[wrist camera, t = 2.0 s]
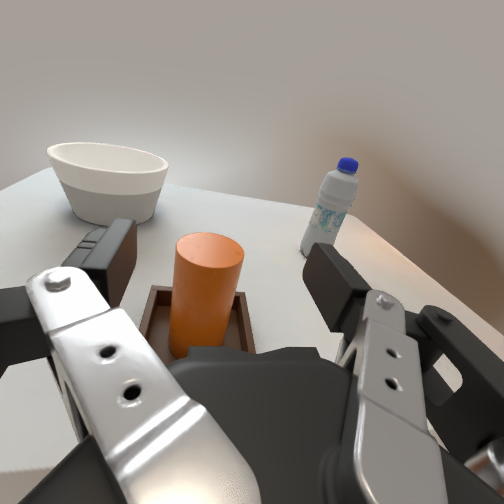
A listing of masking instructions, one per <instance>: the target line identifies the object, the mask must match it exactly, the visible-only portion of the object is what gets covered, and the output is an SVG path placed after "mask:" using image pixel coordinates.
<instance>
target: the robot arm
mask: <svg viewBox="0 0 504 504" xmlns="http://www.w3.org/2000/svg"><path fill="white" fill-rule="evenodd" d="M136 259H137V224H136V220H132V219H123V218H114V219H113V221H112V222H111V223H110V225H109V226H108V228H107V229H106V228H98V229H96V230H94V231H92V232H89V233H88V234H87V235H86V236H85V237H84V239H83V240H82V242H80V243H79V244H78V246H77V248H75V249H74V250H73V252H72V253H71V254H70V255H69V256H68V258H67V259H66V260H65V261H64V262H63V263H62V265H61V266H60V267H55V268H50V269H46V270H43V271H41V272H38V273H36V274H35V275H33V276H32V277H30V278H29V279H28V281H27V282H26V285H25V286H21V287H13V288H5V289H0V378H1V377H2V375H3V374H4V372H5V371H6V369H7V367H8V366H10V365H14V364H18V363H23V362H27V361H31V360H36V359H40V358H44V357H46V360H47V363H48V365H49V367H50V370H51V372H52V375H53V377H54V380H55V382H56V385H57V387H58V389H59V392H60V394H61V397H62V399H63V402H64V404H65V407H66V410H67V413H68V416H69V419H70V421H71V424H72V427H73V430H74V432H75V435H76V437H77V440H78V442H79V444H78V445H77V446H76V447H75V448H74V449H73V450H72V451H71V452H70V453H69V454H68V455H67V456H66V457H65V458H64V459H63V460H62V461H61V462H60V463H59V464H58V465H57V466H56V467H55V468H54V469H53V470H52V471H51V472H50V473H49V474H48V475H47V476H46V477H45V478H43V479H42V481H40V483H38V485H37V486H35V487H34V488H33V489H32V490H31V491H30V492H29V493H28V494H27V495H26V496H25V497H24V498H23V499H22V500H21V501H20V502H19V503H18V504H504V362H503V361H502V360H501V359H500V358H499V357H498V356H497V355H496V354H494V353H493V352H492V351H491V350H490V349H489V348H488V347H487V346H486V345H485V344H484V343H483V342H482V341H481V340H480V339H478V338H477V337H476V336H475V335H474V334H473V333H472V332H471V331H470V330H469V329H468V328H467V327H466V326H465V325H463V324H462V323H461V322H460V321H459V320H458V319H457V318H456V317H455V316H453V315H452V314H450V313H449V312H447V311H445V310H443V309H441V308H439V307H436V306H432V305H426V306H424V307H423V309H422V310H421V312H420V313H419V314H416V313H413V312H409V311H406V310H404V307H403V305H402V304H401V303H400V302H399V301H398V300H397V299H396V298H395V297H393V296H391V295H390V294H388V293H385V292H383V291H379V290H373V289H372V288H371V287H370V286H369V285H368V283H367V282H366V281H365V280H364V279H363V278H362V277H361V275H360V274H358V272H357V271H356V270H355V269H354V267H353V266H352V265H351V264H350V263H349V262H348V261H347V260H346V259H345V258H343V257H342V256H341V255H340V254H339V253H338V252H337V250H336V249H335V248H334V247H333V246H332V245H331V244H326V243H318V242H315V243H314V244H313V245H312V247H311V250H310V253H309V255H308V258H307V261H306V263H305V266H304V269H303V281H304V283H305V285H306V287H307V289H308V290H309V292H310V294H311V296H312V298H313V300H314V302H315V304H316V305H317V307H318V309H319V311H320V313H321V315H322V317H323V319H324V321H325V322H326V324H327V326H328V328H329V330H330V332H337V333H343V334H344V335H343V337H342V339H341V341H340V345H339V348H338V352H337V356H336V360H335V363H333V362H331V361H329V360H326V359H323V358H320V355H319V353H318V351H317V349H316V347H285V348H281V349H277V350H273V351H269V352H265V353H261V354H254V353H250V352H245V351H241V350H237V349H232V348H228V347H224V346H188V354H187V357H185V358H181V359H178V360H175V361H173V362H170V363H168V364H166V365H164V364H163V363H162V361H161V360H160V359H159V357H158V356H157V354H156V353H155V352H154V350H153V349H152V348H151V346H150V345H149V344H148V342H147V341H146V340H145V338H144V337H143V336H142V334H141V333H140V332H139V330H138V329H137V328H136V326H135V325H134V324H133V322H132V321H131V320H130V318H129V317H128V316H127V314H126V313H125V312H124V310H123V309H122V308H121V307H119V305H120V302H121V300H122V297H123V295H124V293H125V290H126V288H127V285H128V283H129V280H130V278H131V275H132V273H133V270H134V268H135V265H136ZM443 353H444V354H445V355H446V356H447V357H448V359H449V360H450V361H451V362H452V363H453V364H454V366H455V367H456V368H457V369H458V370H459V371H460V373H461V375H462V379H463V383H462V386H461V387H460V388H459V389H458V390H457V391H456V392H455V393H454V392H453V391H452V390H451V388H450V387H449V386H448V384H447V383H446V382H445V381H444V379H443V378H442V377H441V376H440V374H439V373H438V372H437V371H436V369H435V368H434V367H433V365H434V363H435V362H436V361H437V360H438V359H439V358H440V357H441V356H442V354H443ZM426 417H427V418H426ZM427 419H428V420H429V422H430V423H431V425H432V426H433V428H434V430H435V431H436V432H437V434H438V436H439V437H440V439H441V440H442V442H443V443H444V445H445V447H446V448H447V450H448V451H449V452H448V451H446V450H445V449H444V448H443V447H441V446H440V445H439V444H438V442H437V440H436V439H435V438H434V437H433V436H432V435H431V434H430V433H429V431H428V426H427Z"/></svg>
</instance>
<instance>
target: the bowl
mask: <svg viewBox="0 0 504 504" xmlns="http://www.w3.org/2000/svg"><path fill="white" fill-rule="evenodd" d="M47 155H48V158H49V160H50V162H51V164H52V166H53V169H54V171H55V173H56V175H57V177H58V179H59V181H60V183H61V185H62V187H63V190H64V192H65V194H66V196H67V198H68V200H69V202H70V205H71V207H72V209H73V211H74V213H75V214H76V216H77V217H79V218H80V219H82V220H84V221H86V222H90V223H93V224H98V225H104V226H109V225H110V223H111V222H112V221H113V219H114V218H123V219H132V220H136V224H140V223H143V222H146V221H147V220H149V219H150V218H151V217H152V216H153V213H154V210H155V207H156V204H157V201H158V198H159V195H160V192H161V189H162V186H163V183H164V180H165V176H166V174H167V170H168V167H169V165H168V163H167V161H165V160H164V159H162V158H161V157H159V156H156V155H154V154H151V153H148V152H145V151H142V150H138V149H134V148H129V147H124V146H118V145H111V144H102V143H87V142H77V143H76V142H74V143H62V144H57V145H53V146H51V147H49V148H48V149H47Z"/></svg>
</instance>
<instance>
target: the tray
mask: <svg viewBox="0 0 504 504" xmlns="http://www.w3.org/2000/svg"><path fill="white" fill-rule="evenodd" d="M172 288H173V287H166V286H153V285H152V286H151V290H150V293H149V297H148V300H147V303H146V307H145V310H144V314H143V317H142V320H141V324H140V327H139V332H140V333H141V334H142V336H143V337H144V338H145V340H146V341H147V342H148V344H149V345H150V346H151V348H152V349H153V350H154V352H155V353H156V354H157V356H158V357H159V359H160V360H161V361H162V363H163V364H164V365H166V364H168V363H170V362H173V361H175V360H178V358H177V357H176V356H175V355H174V354H173V353H172V352H171V350H170V348H169V344H168V337H169V324H170V312H171V300H172ZM222 346H224V347H228V348H232V349H237V350H241V351H245V352H250V353H254V354H256V351H255V345H254V340H253V335H252V329H251V324H250V318H249V313H248V307H247V302H246V296H245V292H235V296H234V300H233V304H232V308H231V312H230V317H229V321H228V325H227V329H226V333H225V337H224V341H223V345H222Z"/></svg>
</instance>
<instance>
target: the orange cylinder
mask: <svg viewBox="0 0 504 504" xmlns="http://www.w3.org/2000/svg"><path fill="white" fill-rule="evenodd" d="M243 259H244V251H243V249H242V247H241V246H240V245H239V244H238V243H237V242H235V241H234V240H232V239H230V238H228V237H225V236H222V235H219V234H214V233H204V232H201V233H192V234H188V235H185V236H183V237H182V238H180V239H179V240H178V242H177V244H176V252H175V264H174V276H173V288H172V300H171V312H170V324H169V337H168V344H169V348H170V350H171V352H172V353H173V354H174V355H175V356H176V357H177V358H178V359H181V358H185V357H187V354H188V346H222V345H223V341H224V337H225V333H226V329H227V325H228V321H229V317H230V312H231V308H232V304H233V300H234V296H235V292H236V288H237V284H238V279H239V275H240V271H241V267H242V263H243Z"/></svg>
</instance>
